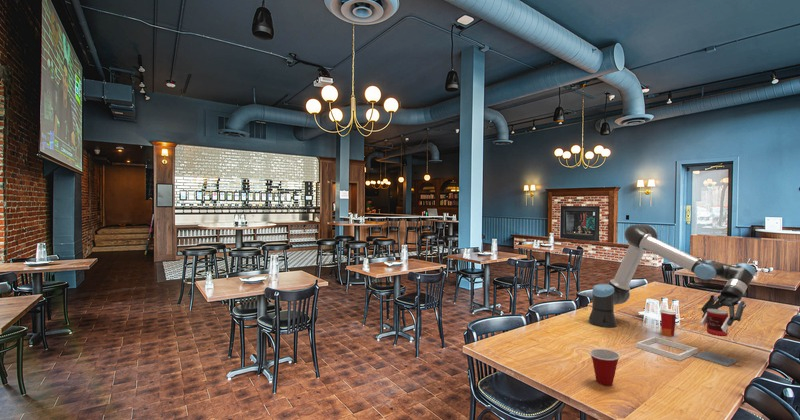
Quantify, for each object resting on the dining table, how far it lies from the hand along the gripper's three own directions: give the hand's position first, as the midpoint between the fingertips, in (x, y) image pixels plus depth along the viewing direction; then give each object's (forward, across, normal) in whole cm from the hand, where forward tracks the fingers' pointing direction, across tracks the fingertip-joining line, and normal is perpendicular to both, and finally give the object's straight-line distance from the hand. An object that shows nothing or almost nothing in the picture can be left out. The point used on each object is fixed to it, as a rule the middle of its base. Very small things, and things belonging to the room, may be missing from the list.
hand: (712, 327), depth 177 cm
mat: (+9, 0, -13) cm, 16 cm away
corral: (+17, +15, -5) cm, 23 cm away
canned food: (0, 0, -5) cm, 5 cm away
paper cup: (-1, +31, -23) cm, 39 cm away
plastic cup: (+60, 0, +38) cm, 72 cm away
